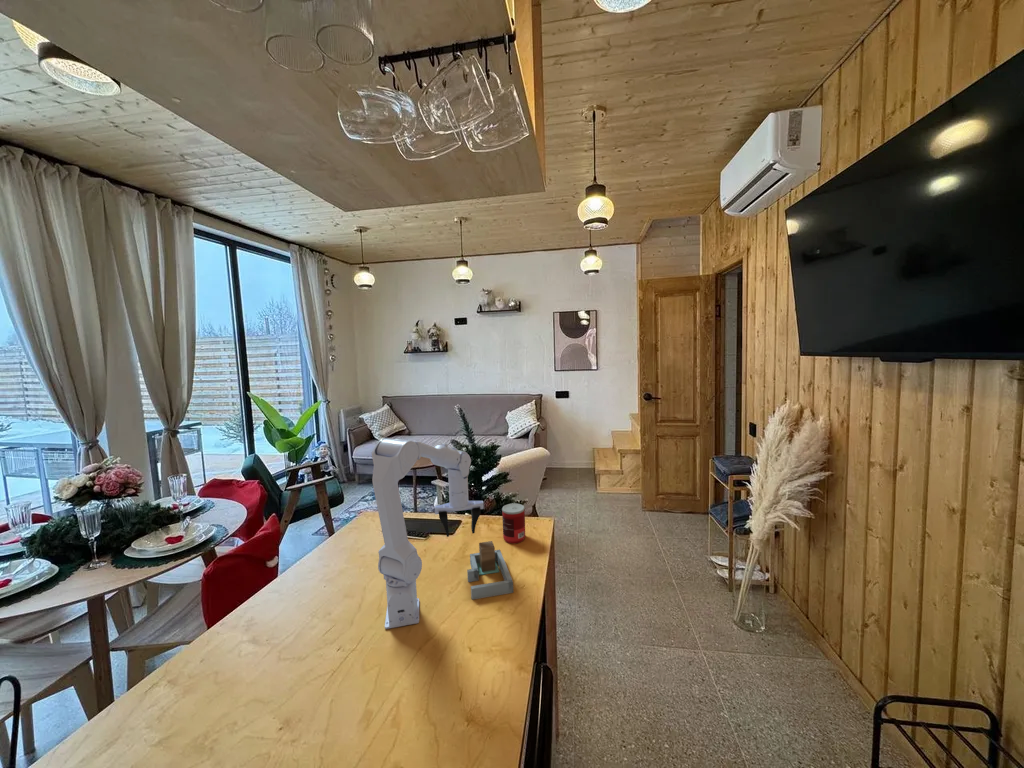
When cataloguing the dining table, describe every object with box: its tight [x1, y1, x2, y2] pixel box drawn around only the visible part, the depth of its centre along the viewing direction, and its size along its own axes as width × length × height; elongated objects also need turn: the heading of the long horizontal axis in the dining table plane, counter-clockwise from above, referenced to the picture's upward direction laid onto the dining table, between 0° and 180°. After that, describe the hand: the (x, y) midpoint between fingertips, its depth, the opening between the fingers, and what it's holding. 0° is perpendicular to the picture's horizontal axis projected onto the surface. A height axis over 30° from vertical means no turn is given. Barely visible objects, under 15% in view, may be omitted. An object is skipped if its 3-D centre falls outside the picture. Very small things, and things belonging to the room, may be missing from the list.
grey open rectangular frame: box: [467, 549, 514, 601], centre depth 115 cm, size 18×11×3 cm, turn 13°
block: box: [478, 540, 496, 572], centre depth 120 cm, size 4×4×7 cm
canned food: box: [501, 502, 526, 544], centre depth 138 cm, size 8×8×11 cm
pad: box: [477, 561, 500, 576], centre depth 120 cm, size 6×6×1 cm
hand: (460, 533), depth 122 cm, fingers open, 7 cm apart
